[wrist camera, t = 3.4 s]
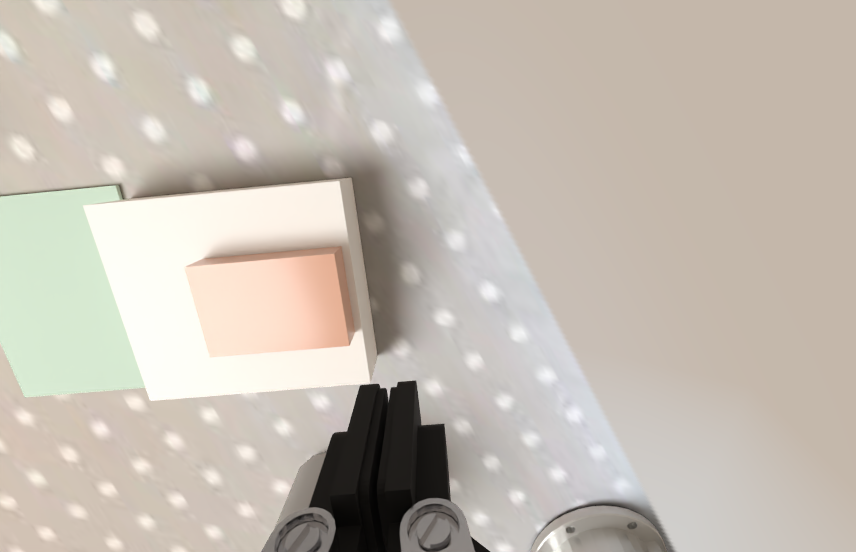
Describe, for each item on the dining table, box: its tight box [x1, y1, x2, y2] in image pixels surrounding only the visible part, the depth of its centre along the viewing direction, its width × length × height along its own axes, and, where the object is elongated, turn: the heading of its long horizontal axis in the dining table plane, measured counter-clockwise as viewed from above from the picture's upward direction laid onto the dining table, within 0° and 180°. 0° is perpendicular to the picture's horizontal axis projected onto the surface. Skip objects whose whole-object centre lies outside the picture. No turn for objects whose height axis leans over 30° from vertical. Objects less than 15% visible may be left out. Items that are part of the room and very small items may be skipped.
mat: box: [0, 185, 145, 397], centre depth 30 cm, size 13×16×1 cm
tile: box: [184, 246, 355, 357], centre depth 25 cm, size 9×6×2 cm, turn 95°
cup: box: [275, 452, 327, 528], centre depth 31 cm, size 8×8×10 cm
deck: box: [83, 178, 378, 401], centre depth 28 cm, size 16×14×4 cm
